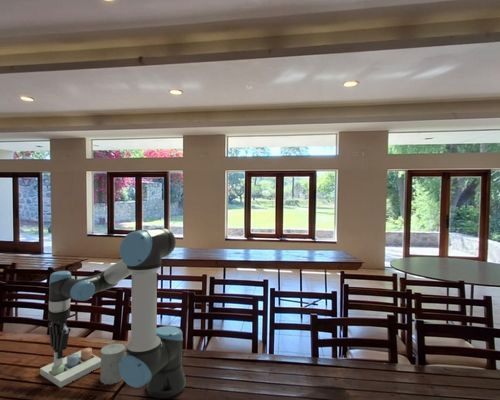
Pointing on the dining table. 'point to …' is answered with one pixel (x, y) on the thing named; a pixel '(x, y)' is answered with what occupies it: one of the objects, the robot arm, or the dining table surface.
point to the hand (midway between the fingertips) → (58, 365)
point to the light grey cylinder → (111, 362)
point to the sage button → (57, 369)
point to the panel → (71, 370)
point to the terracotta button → (86, 354)
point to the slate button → (72, 360)
